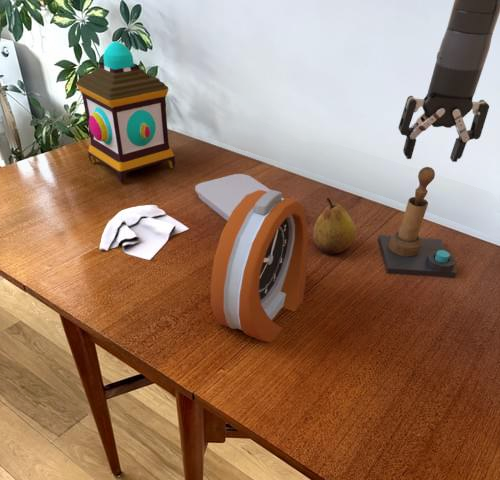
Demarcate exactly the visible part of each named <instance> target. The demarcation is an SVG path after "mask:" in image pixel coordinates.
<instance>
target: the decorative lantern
mask: <svg viewBox="0 0 500 480" xmlns="http://www.w3.org/2000/svg"><path fill="white" fill-rule="evenodd" d="M75 86H76V88H77V89H78V91H79V92H80V94H81V96H82V102H83V107H84V112H85V117H86V123H87V126H88V127H87V128H88V133H89V138H90V143H89V146H88V150H87V155H88V159H89V161H90V163H91V164H96V162H97V160H98V161H99V162H100V163H102V164H104V165H106V167H108V168H110V169H111V170H113V171H115V172H116V174H117V175H118V179H119V182H120V183H121V184H125V183H126V175H127V174H129V173H130V172H133V171H137V170H140V169H144V168H147V167H151V166H153V165H158V164H161V163H164V162H168V166H169V168H170V169H174V168H175V167H176V157H175V154H174V152H173V150H172V149H171V147H170V143H169V133H168V132H169V131H168V119H167V106H166V105H167V104H166V97H167V95H168V92H169V87H168V86H167V85H166V83H164V82H163V81H161V80H160V78H158V77H156V76H153V75H151V74H149V73H147V72H145V70H144V69H142V68H140V65H139V64H136V63H134V56H133V53H132V52H131V51H130V49H129V48H128V47H127V46H126V45H125V44H124V43H122V42H120V41H117V40H116V41H113V42H110V43H109V44H108V46H107V47H106V48H105V50H104V52H103V62H99V66H97V67H95V70H91V72H89V73H84V74H82V75H81V77H79V78H78V79H77V80H76V81H75Z"/></svg>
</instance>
